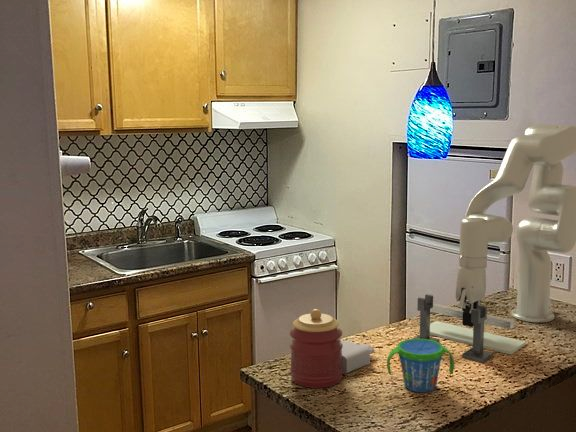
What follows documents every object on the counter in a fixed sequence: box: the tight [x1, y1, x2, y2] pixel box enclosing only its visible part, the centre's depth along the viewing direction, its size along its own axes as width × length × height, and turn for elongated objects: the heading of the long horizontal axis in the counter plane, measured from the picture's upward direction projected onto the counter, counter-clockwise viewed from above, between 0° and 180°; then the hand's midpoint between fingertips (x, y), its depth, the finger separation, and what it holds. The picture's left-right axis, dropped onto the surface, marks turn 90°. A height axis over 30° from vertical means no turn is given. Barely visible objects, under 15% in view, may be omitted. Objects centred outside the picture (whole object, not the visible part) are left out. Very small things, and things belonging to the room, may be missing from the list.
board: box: [418, 320, 527, 355], centre depth 181 cm, size 10×28×1 cm, turn 47°
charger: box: [341, 340, 376, 375], centre depth 166 cm, size 5×9×15 cm
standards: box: [412, 294, 495, 364], centre depth 172 cm, size 6×22×14 cm, turn 48°
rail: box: [431, 303, 515, 330], centre depth 180 cm, size 2×24×2 cm, turn 48°
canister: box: [289, 308, 344, 389], centre depth 155 cm, size 13×13×18 cm
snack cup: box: [386, 338, 455, 393], centre depth 149 cm, size 16×10×10 cm
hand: (470, 323), depth 181 cm, fingers closed on rail, 2 cm apart
